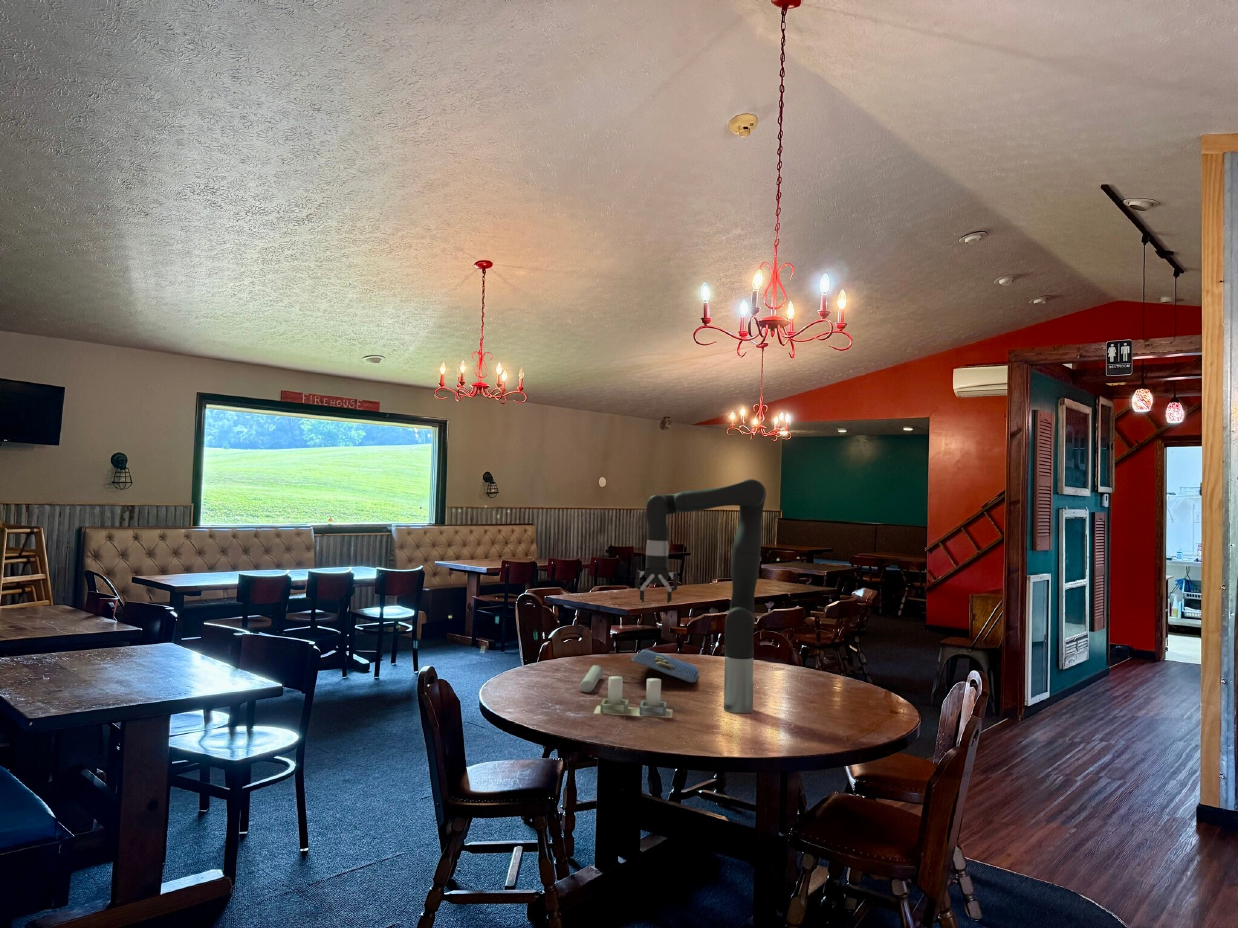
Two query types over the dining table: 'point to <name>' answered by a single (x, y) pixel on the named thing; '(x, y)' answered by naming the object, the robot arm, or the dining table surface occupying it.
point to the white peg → (615, 690)
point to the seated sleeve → (653, 692)
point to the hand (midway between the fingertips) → (655, 602)
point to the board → (633, 709)
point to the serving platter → (667, 665)
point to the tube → (591, 678)
